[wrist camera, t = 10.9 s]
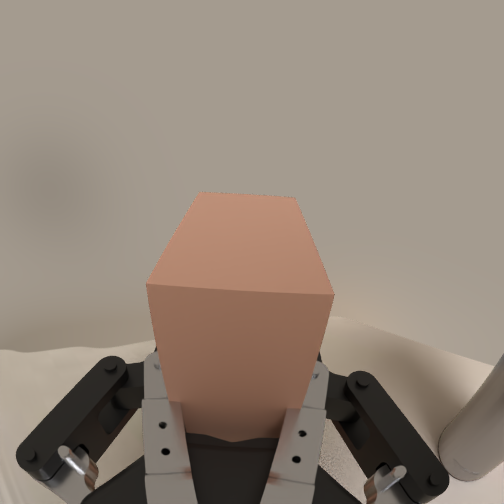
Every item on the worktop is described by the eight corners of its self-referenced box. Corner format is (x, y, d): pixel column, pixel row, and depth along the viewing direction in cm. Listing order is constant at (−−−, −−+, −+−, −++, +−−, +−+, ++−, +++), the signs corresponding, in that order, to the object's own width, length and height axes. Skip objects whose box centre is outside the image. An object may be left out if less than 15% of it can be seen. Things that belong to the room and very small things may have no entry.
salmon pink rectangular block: (266, 497, 13) (334, 294, 6) (197, 494, 13) (145, 283, 6) (264, 406, 19) (294, 195, 13) (208, 403, 19) (200, 190, 13)
